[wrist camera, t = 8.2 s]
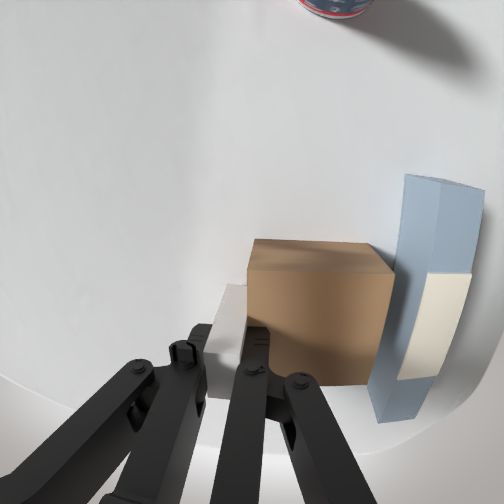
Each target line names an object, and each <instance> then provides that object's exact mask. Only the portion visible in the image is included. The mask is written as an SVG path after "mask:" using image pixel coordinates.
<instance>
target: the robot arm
mask: <svg viewBox="0 0 504 504" xmlns="http://www.w3.org/2000/svg"><path fill="white" fill-rule="evenodd" d="M269 348H270V332H269V330H268V329H267V327H254V326H247V285H232V284H227V287H226V289H225V292H224V295H223V298H222V300H221V303H220V306H219V309H218V311H217V314H216V317H215V320H214V323H213V325H212V324H200V323H199V324H197V325H196V326H195V327H194V328H192V330H191V333H190V336H189V337H188V340H180V341H176V342H174V343H172V344H171V345H170V346H169V352H170V358H171V364H170V365H168V366H161V367H153V365H152V363H151V362H150V361H148V360H145V359H135V360H132V361H130V362H128V363H127V364H126V365H125V366H124V367H123V368H121V369H120V370H119V371H118V372H117V373H116V374H115V375H114V376H113V377H112V378H111V379H110V380H109V381H108V382H107V383H106V384H104V385H103V386H102V387H101V388H100V389H99V390H98V391H97V392H96V393H95V394H94V395H93V396H92V397H91V398H90V399H89V400H88V401H86V402H85V403H84V404H83V405H82V406H81V407H80V408H79V409H78V410H77V411H76V412H75V413H74V414H73V415H72V416H71V417H70V418H69V419H67V420H66V421H65V422H64V423H63V424H62V425H61V426H60V427H59V428H58V429H57V430H56V431H55V432H54V433H53V434H52V435H51V436H50V437H49V438H47V439H46V440H45V441H44V442H43V443H42V444H41V445H40V446H39V447H38V448H37V449H36V450H35V451H34V452H33V453H32V454H31V455H30V456H29V457H28V458H27V459H26V460H24V461H23V462H22V463H21V464H20V465H19V466H18V467H17V468H16V469H15V470H14V471H13V472H12V473H11V474H8V475H6V476H4V477H1V478H0V504H87V503H88V502H89V501H90V500H91V498H92V497H93V496H94V495H95V493H96V492H97V491H98V490H99V489H100V488H101V486H102V485H103V484H104V483H105V481H106V480H107V479H108V478H109V477H110V476H111V474H112V473H113V472H114V471H115V470H116V468H117V467H118V466H119V465H120V463H121V462H122V461H123V460H124V458H125V457H126V456H127V455H128V454H129V452H130V451H131V452H130V455H129V457H128V459H127V461H126V464H125V466H124V468H123V471H122V473H121V475H120V478H119V481H118V483H117V485H116V487H115V490H114V491H113V492H112V493H109V494H105V495H104V496H103V497H102V499H101V500H100V502H99V504H179V503H180V499H181V496H182V492H183V488H184V485H185V481H186V477H187V473H188V469H189V466H190V462H191V458H192V455H193V450H194V447H195V444H196V440H197V436H198V432H199V429H200V425H201V421H202V418H203V414H204V410H205V407H206V401H205V396H206V392H207V394H208V397H209V398H219V399H229V400H230V404H229V409H228V414H227V420H226V425H225V430H224V435H223V440H222V445H221V450H220V455H219V460H218V465H217V470H216V475H215V480H214V485H213V490H212V495H211V499H210V504H258V502H259V491H260V479H261V468H262V467H261V466H262V455H263V442H264V429H265V418H267V419H270V420H274V421H277V422H280V427H281V430H282V433H283V436H284V440H285V443H286V446H287V449H288V452H289V455H290V459H291V462H292V465H293V468H294V471H295V474H296V477H297V480H298V483H299V486H300V490H301V492H302V495H303V499H304V502H305V504H377V502H376V500H375V498H374V496H373V494H372V492H371V490H370V488H369V486H368V484H367V482H366V480H365V478H364V476H363V474H362V472H361V470H360V468H359V466H358V464H357V462H356V460H355V458H354V456H353V453H352V451H351V449H350V447H349V445H348V443H347V441H346V439H345V437H344V435H343V433H342V431H341V429H340V427H339V425H338V423H337V421H336V419H335V417H334V415H333V413H332V411H331V409H330V407H329V405H328V403H327V401H326V399H325V397H324V395H323V393H322V391H321V389H320V387H319V385H318V383H317V381H316V379H315V378H314V377H313V376H312V375H310V374H308V373H304V372H295V373H292V374H290V375H288V376H287V377H282V376H279V375H277V374H275V373H274V372H272V371H271V369H270V368H269Z"/></svg>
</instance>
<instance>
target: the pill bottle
mask: <svg viewBox="0 0 504 504" xmlns="http://www.w3.org/2000/svg"><path fill="white" fill-rule="evenodd" d="M296 1H297V2H298V3H299V4H301V5H302V6H303V7H304V8H306V9H308V10H309V11H311V12H313V13H315V14H318V15H321V16H324V17H328V18H336V19H343V18H350V17H354V16H357V15H359V14H361V13H362V12H364V11H365V10H366V9H367V8H368V7H369V5H370V4H371V2H372V1H373V0H296Z"/></svg>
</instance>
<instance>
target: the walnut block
mask: <svg viewBox="0 0 504 504" xmlns="http://www.w3.org/2000/svg"><path fill="white" fill-rule="evenodd" d="M394 279H395V274H394V272H393V271H392V270H391V269H390V268H389V266H388V265H387V264H386V263H385V262H384V261H383V260H382V258H381V257H380V256H379V255H378V254H377V253H376V252H375V251H374V249H373V248H372V247H371V246H370V245H369V244H368V243H349V242H325V241H300V240H272V239H255V240H254V244H253V248H252V252H251V256H250V260H249V264H248V268H247V326H254V327H267V329H268V330H269V332H270V348H269V368H270V369H271V371H272V372H274V373H275V374H277V375H279V376H282V377H287V376H288V375H290V374H292V373H295V372H304V373H308V374H310V375H312V376H313V377H314V378H315V379H316V381H317V383H318V385H319V386H346V385H366V384H368V381H369V377H370V374H371V371H372V368H373V364H374V361H375V358H376V354H377V351H378V347H379V343H380V340H381V336H382V332H383V328H384V324H385V320H386V316H387V312H388V307H389V303H390V298H391V294H392V289H393V284H394Z"/></svg>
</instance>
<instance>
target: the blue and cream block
mask: <svg viewBox="0 0 504 504" xmlns="http://www.w3.org/2000/svg"><path fill="white" fill-rule="evenodd" d="M484 195H485V190H481V189H478V188H475V187H471V186H468V185H464V184H460V183H457V182H453V181H449V180H445V179H439V178H432V177H425V176H418V175H410V174H405V184H404V196H403V206H402V215H401V224H400V231H399V239H398V246H397V252H396V258H395V264H394V270H393V272H394V274H395V279H394V284H393V289H392V294H391V298H390V303H389V307H388V312H387V316H386V320H385V324H384V328H383V332H382V336H381V340H380V343H379V347H378V351H377V354H376V358H375V361H374V364H373V368H372V371H371V374H370V377H369V381H368V384H367V387H368V391H369V394H370V397H371V401H372V404H373V407H374V411H375V414H376V418H377V421H378V423H386V422H394V421H401V420H408V419H414V418H415V417H416V415H417V413H418V411H419V410H420V408H421V406H422V404H423V402H424V400H425V398H426V395H427V393H428V391H429V389H430V387H431V385H432V383H433V380H434V378H435V376H437V375H438V374H439V371H440V369H441V367H442V364H443V362H444V359H445V357H446V354H447V352H448V349H449V347H450V344H451V342H452V339H453V336H454V333H455V331H456V328H457V325H458V322H459V319H460V316H461V313H462V310H463V306H464V303H465V300H466V296H467V293H468V289H469V285H470V282H471V278H472V274H471V269H472V265H473V260H474V256H475V251H476V246H477V241H478V236H479V230H480V224H481V218H482V211H483V203H484Z"/></svg>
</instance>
